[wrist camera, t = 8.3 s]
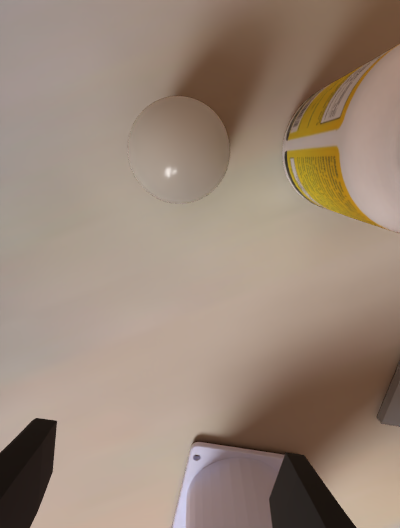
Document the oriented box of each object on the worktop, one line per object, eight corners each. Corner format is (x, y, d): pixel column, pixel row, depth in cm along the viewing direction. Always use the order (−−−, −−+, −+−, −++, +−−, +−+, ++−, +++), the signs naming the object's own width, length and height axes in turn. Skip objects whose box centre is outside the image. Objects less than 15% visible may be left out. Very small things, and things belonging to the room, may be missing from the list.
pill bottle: (383, 208, 19) (626, 270, 8) (274, 205, 19) (378, 264, 8) (406, 85, 17) (759, -39, 6) (285, 81, 17) (440, -52, 6)
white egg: (212, 201, 18) (217, 212, 14) (140, 186, 18) (121, 193, 13) (227, 125, 17) (240, 108, 13) (152, 108, 17) (135, 85, 12)
